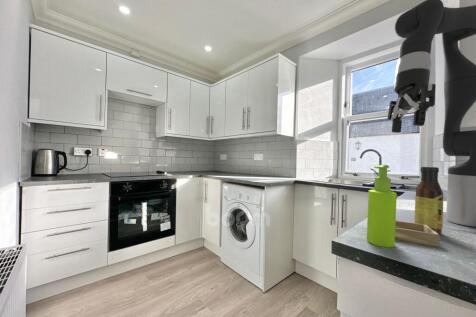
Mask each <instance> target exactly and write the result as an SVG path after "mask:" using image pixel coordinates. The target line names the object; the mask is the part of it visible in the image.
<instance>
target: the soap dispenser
mask: <svg viewBox="0 0 476 317" xmlns="http://www.w3.org/2000/svg"><path fill="white" fill-rule="evenodd" d="M373 167H374V169H378V176H376V177H374V189H369V190H368V193H367V194H368V198H367V199H368V200H367V220H366V221H367V222H366V224H367V225H366V241H367V242H368V243H370V244H371V245H375V246H377V247H381V248H394V247H395V245H396V244H395V242H396V239H395V224H396V221H397V220H396V219H397V218H396V216H397V195H398V194H397V193H396V192H394V191H391V188H392V187H391V186H392V184H391V182H392V179H391V178H390V177H388V169H389V168H390V166H389V164H376V165H374V166H373Z"/></svg>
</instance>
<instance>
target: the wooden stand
mask: <svg viewBox="0 0 476 317" xmlns="http://www.w3.org/2000/svg"><path fill="white" fill-rule="evenodd" d="M395 240H398V241H404V242H409V243H414V244H415V243H416V244H420V245H427V246H433V247H438V248H439V247H440V234H438V233H436V232H435V231H433V230H432V229H431V228H429V227H428V226H427V225H424V224H417V223H415V222H410V221H401V220H396V224H395Z"/></svg>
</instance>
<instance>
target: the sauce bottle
mask: <svg viewBox="0 0 476 317" xmlns="http://www.w3.org/2000/svg"><path fill="white" fill-rule="evenodd" d="M439 169H440V168H439V167H438V166H436V167H435V166H421V167H420V175H421V178H420V182H419V183H418V185H417V186H416V187H415V197H414V223H417V224H424V225H427V226H428V227H429V228H431V229H432V230H433V231H435V232H436V233H438V234H439V235H442V229H443V220H444V219H443V218H444V192H443V190H442V188H441V186H440V185H441V184H440V182H439V180H438V179H439V172H440V170H439Z"/></svg>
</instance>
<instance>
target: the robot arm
mask: <svg viewBox="0 0 476 317" xmlns="http://www.w3.org/2000/svg"><path fill="white" fill-rule="evenodd" d="M393 28H394V33H395V34H396V35H397V36H398V37H400V38H402V39H404V40H403V41H402V42H401V43H400V45H399V51H398V58H397V64H396V69H395V77H394V86H393V92H394V93H396V94H397V98H396V99H395V100H391V101H389V105H388V106H389V107H388V113H387V120H389V121H392V125H391V132H392V133H395V134H399V133H401V132H402V127H403V126H402V125H403V118H404V116H405V115H406V114H407V115H408V113H409V111H410V110H412V109H414V110H415V111H414V112H413V119H412V120H413V121H412V125H413V126H417V127H422V126H424V125H425V122H426V114H427V111H428V110H429V108H432V107H434V106H435V103H436V87H437V86H436V84H435V83H430V79H431V78H430V76H431V67H432V66H431V65H432V60H431V52H432V42H433V40H434V38H435V36H436V35H440V36H441V38H440V39H441V45H442V46H441V47H442V53H443V65H444V66H443V68H444V70H443V72H444V73H443V75H444V76H443V94H444V125H443V133H442V149H443V152H444V153H445V155H446V156H448V157H469V159H467V161H465V162H462V163H459V164H456V165H450V166H449V167H448V168H447V188H446V189H447V190H446V192H447V194H446V214H445V215H446V216H445V220H446V221H447V222H450V223H454V224H457V225H463V226H469V227H475V228H476V129H472V130H461V124H462V121H463V118H465V115H466V114H467V112H468V111H469V110H470V108H472V106H473V105H474V104H475V103H476V64H475V63H474V62H472V61H471V60H470V59H468V58H467V56H465V55H464V54H463V53H462V52H461V50H460V48H459V41H462V40H465V39H467V38H469V37H472V36H476V4H475V5H470V6H462V7H448V6H447V7H446V6H444V2H443V1H442V0H424V1H422V2H420V3H419V4H417V5H415V6H414V7H412V8H410V9H408V10H406V11H404V12H403V13H402V14H400V15H399V16H398V17H397V18H396V20H395V23H394V26H393ZM427 99H428V100H427Z"/></svg>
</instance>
